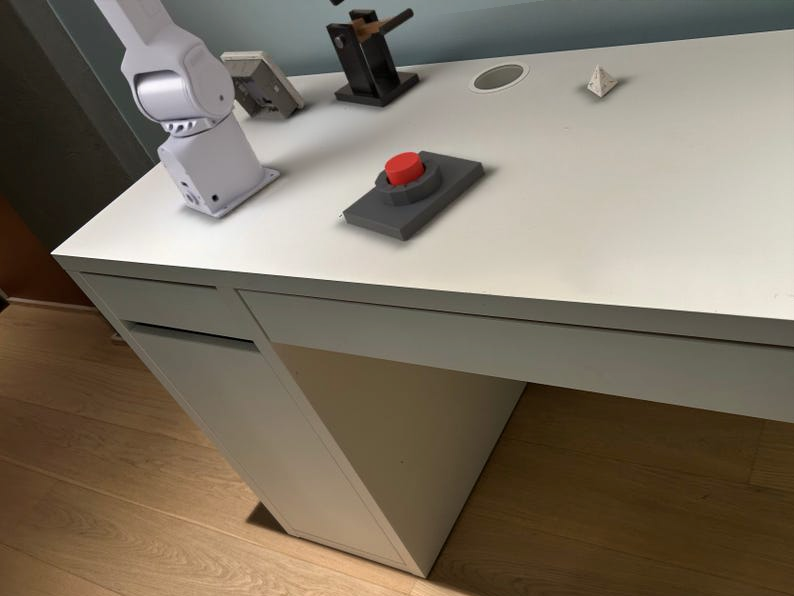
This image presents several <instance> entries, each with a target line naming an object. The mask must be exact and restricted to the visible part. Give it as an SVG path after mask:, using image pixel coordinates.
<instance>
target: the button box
mask: <svg viewBox="0 0 794 596" xmlns="http://www.w3.org/2000/svg"><path fill="white" fill-rule="evenodd" d="M417 154H418V155H419V157H420V160H421V163H422V165H423V168H424V174H423V175H422V176H420V177H419V178H418V179H417V180H415V181H413V182H410V183H408V184H404V185H397V186H394V185H392V184H391V183H390V180H389V178H388V175H387V173H386V171H385V168H384V169H383V170H381V171H380V172H378V175H377V177H376V178H375V180H374V185H375V186H374V187H373V188H371V189H370V190H368V191H367V192H366V193H365V194H363V195H362V196H361V197H360V198H358V199H357V200H355V202H353V203H352V204H350V206H348V207H347V208H346V209H344V210H343V211H341V212H342V214H343V217H344V219H345V221H346V223H347V224H350V225H352V226H355V227H359V228H362V229H365V230H367V231H371V232H375V233H377V234H381V235H384V236H385V237H388V238H389V237H390V238H393V239H395V240H399V241H402V242H406V241H407V240H408V239H409V238H411V237H412V236H413V235H414V234H415V233H417V232H418V231H419V230H420V229H421V228H422V227H424V226H425V225H426V224H427V223H428V222H430V221H431V220H432V219H433V218H434V217H435V216H437V215H438V214H440V213H441V212H442V211H443V210H444V209H445V208H447V206H449V205H450V204H451V203H452V202H454V201H455V200H456V199H457V198H458V197H459V196H460V195H462V194H463V193H464V192H465V191H466V190H468V189H469V188H470V187H471V186H472V185H474V184H475V183H476V182H478V181H479V180H480V179H481V178H482V177H483V176H484V175H485V170H484V166H483V163H482V162H481V161H476V160H471V159H466V158H462V157H457V156H451V155H446V154H441V153H437V152H431V151H427V150H420V151H419V152H417Z"/></svg>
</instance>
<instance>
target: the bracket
mask: <svg viewBox="0 0 794 596" xmlns="http://www.w3.org/2000/svg"><path fill="white" fill-rule="evenodd" d="M348 15H349V18H350V21H352V20H356V19H359V18H363V19H364V21H365V23H366V24H368V23H372V22H375V21H379V17H378V15H377V12H376V9H361V8H360V9H358V8H355V9H352V10H350V11H348ZM325 28H326V31H327V33H328V36H329V39H330V42H331V43H332V46H333V48H334V51H335V53H336V55H337V59H338V61H339V63H340V65H341V68H342V70H343V72H344V76H345V77H346V80H347V83H346V84H345V85H343V86H342V87H340V88H339V89H337V90H336V91H334V92H333V94H334V96H335V99H336V101H338V102H345V103H351V104H357V105H364V106H371V107H377V108H385V107H386V106H388V105H390V104H391V103H392V102H394V101H395V100H396V99H398V98H399V97H400V96H402V95H403V94H404V93H406V92H408V91H409V90H410V89H412V88H413V87H415V86H416V85H417V84H419V83H420V82H421V80H420V77H419V75H418V73H417V72H407V71H397V67H396V65H395V63H394V59H393V56H392V53H391V51H390V48H389V46H388V43H387V40H386V37H385V35H382V34H381V33H380V32H376V33H372V34H371V35H372V36H371V37H370V38H368V39H367V40H365V41H364V42H362V43H361V44H359V41H358V38H357V36H356V33H355V30H354V28H353V25H352V24H347V23H337V22H336V23H335V22H331V23H329V24H327V25H326V26H325Z"/></svg>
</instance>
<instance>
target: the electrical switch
mask: <svg viewBox="0 0 794 596" xmlns="http://www.w3.org/2000/svg"><path fill="white" fill-rule="evenodd" d="M219 57H220V59H221V61H222V62H223V63H222V64H223V65H224V66H225V67H226V69H227V70H228V72H229V74H230V76H231V78H232V81H233V85H234V92H235V97H234V100H235V101H236V102H237V103H238V104H239V105H240V107H242V109H243V111H245V112H246V113H247V114H248V115H249V116H250V118H253V117H254V118H269V119H286V120H287V119H288V118H289V117H290V115H291V114H293V112H294V111H295V109H304V107H305V105H306V100H305V99H304V97H302V95H301V94H300V93H299V91H298V90H297V88H295V86H294V85H293V84H292V82H291V81H290V80H289V79H288V78H287V76H286V74H285V73H284V72H283V71H282V69H281V68H280V67H279V66H278V65H277V63H276V62H275V61H274V60H273V58H272V57H271V55H269V53H267V52H266V51H264V50H250V51H248V50H247V51H224V52H223V53H222V54H221V55H220V56H219Z"/></svg>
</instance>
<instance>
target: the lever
mask: <svg viewBox="0 0 794 596" xmlns="http://www.w3.org/2000/svg"><path fill="white" fill-rule="evenodd" d="M414 15H415V13H414V10H413V9H412V8H411V7H408V8H406V9H404V10H403V11H401V12H399V13H398V14H396V15H394V16H392V17H387V18H382V19H380V20H379V19H378V20H379V21H375V22H372V23H368V24H366V23H365V21H364V19H363V18H359V19H356V20H352V21H351V20H350V21H349V22H347V23H346V24H352V25H353V28H354V30H355V33H356V36H357V38H358V41H359V44H360V45H361V43H362V42H364V41H365V40H367V39H368V38H370V37H371V36H372V35H371V34H372V33H376V32H380V33H381V34H382V35H384V36H386V35H387V34H389V33H390V32H392V31H394V30H395V29H396V28H399V27H400V26H401V25H402V24H404V23H405V22H407V21H409V20H410V19H412V18H413V17H414Z"/></svg>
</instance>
